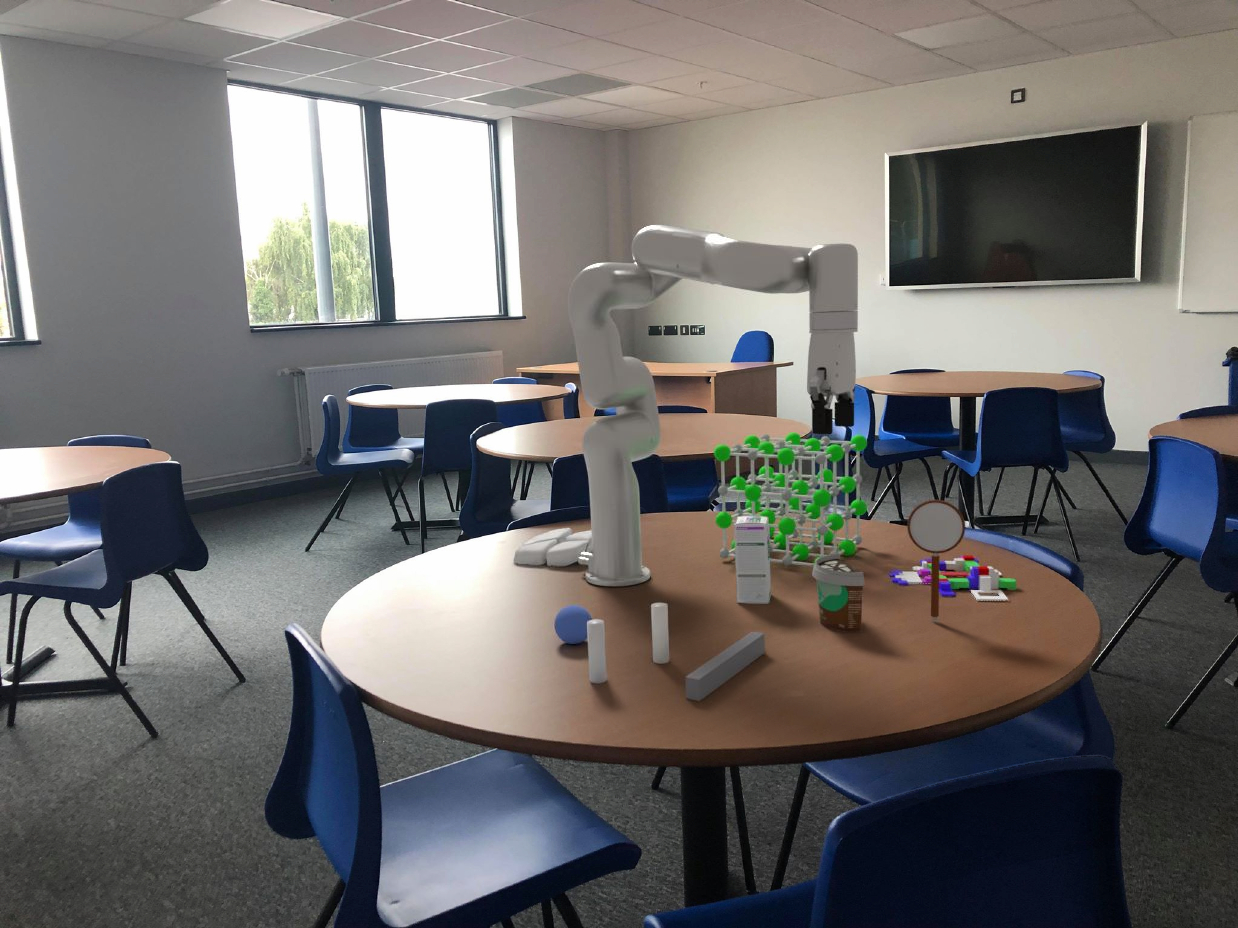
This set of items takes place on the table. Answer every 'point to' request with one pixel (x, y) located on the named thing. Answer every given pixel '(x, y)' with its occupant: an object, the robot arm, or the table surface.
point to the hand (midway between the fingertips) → (833, 430)
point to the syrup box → (752, 559)
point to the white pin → (660, 632)
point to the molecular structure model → (795, 494)
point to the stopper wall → (724, 666)
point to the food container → (838, 594)
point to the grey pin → (596, 651)
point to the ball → (572, 624)
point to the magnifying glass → (936, 537)
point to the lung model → (554, 548)
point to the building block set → (975, 579)
